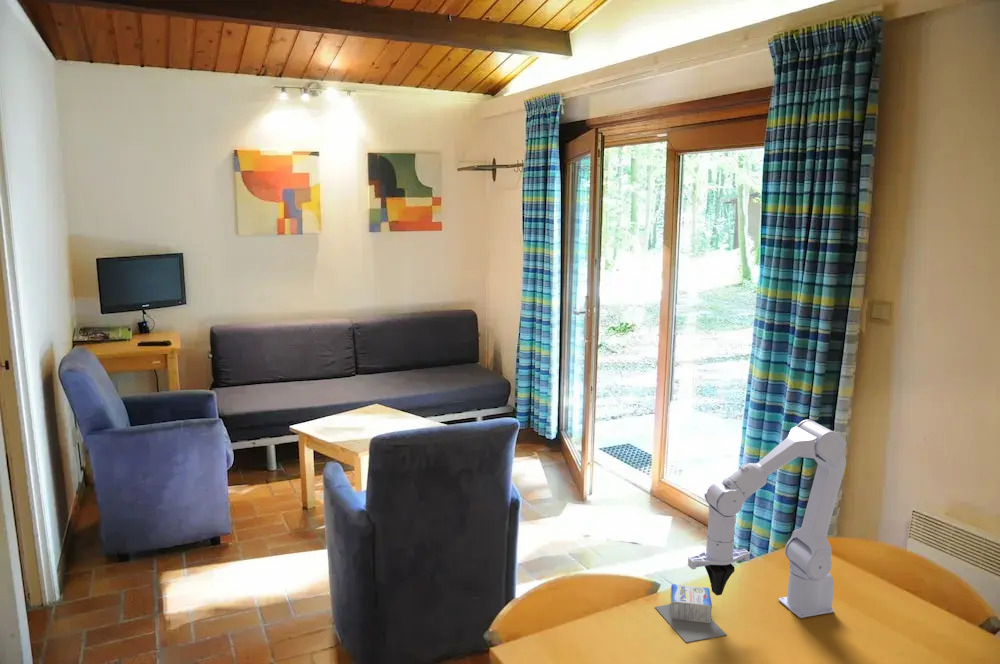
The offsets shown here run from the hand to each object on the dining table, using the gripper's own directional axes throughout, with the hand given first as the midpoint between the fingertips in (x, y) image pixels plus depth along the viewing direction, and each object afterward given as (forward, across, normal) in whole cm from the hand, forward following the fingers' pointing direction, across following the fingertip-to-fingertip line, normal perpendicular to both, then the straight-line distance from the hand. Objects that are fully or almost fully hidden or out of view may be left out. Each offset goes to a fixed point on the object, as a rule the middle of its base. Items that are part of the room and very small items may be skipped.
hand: (716, 592), depth 165 cm
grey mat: (+6, +6, 0) cm, 9 cm away
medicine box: (+4, +1, -1) cm, 4 cm away
